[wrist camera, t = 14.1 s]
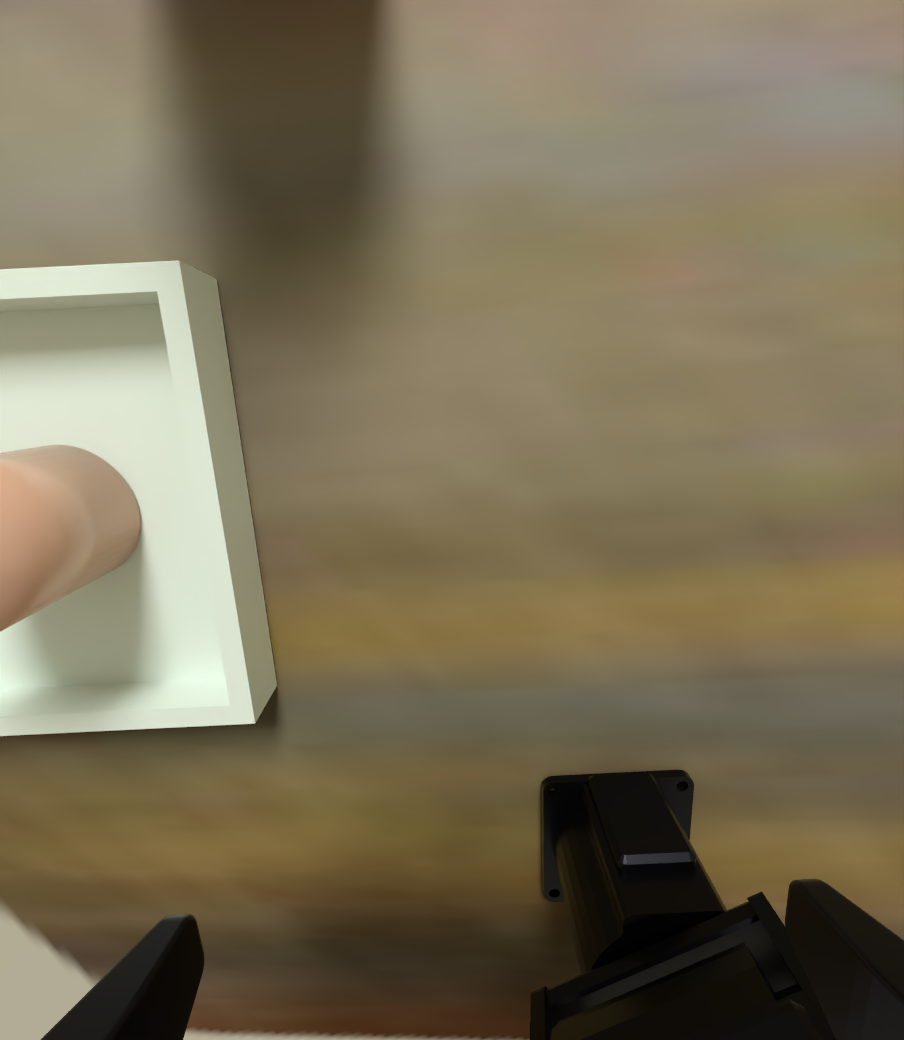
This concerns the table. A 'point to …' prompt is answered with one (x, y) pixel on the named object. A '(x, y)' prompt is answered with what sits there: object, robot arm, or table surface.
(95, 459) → the cup
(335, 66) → the table surface
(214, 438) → the tray
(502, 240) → the table surface
